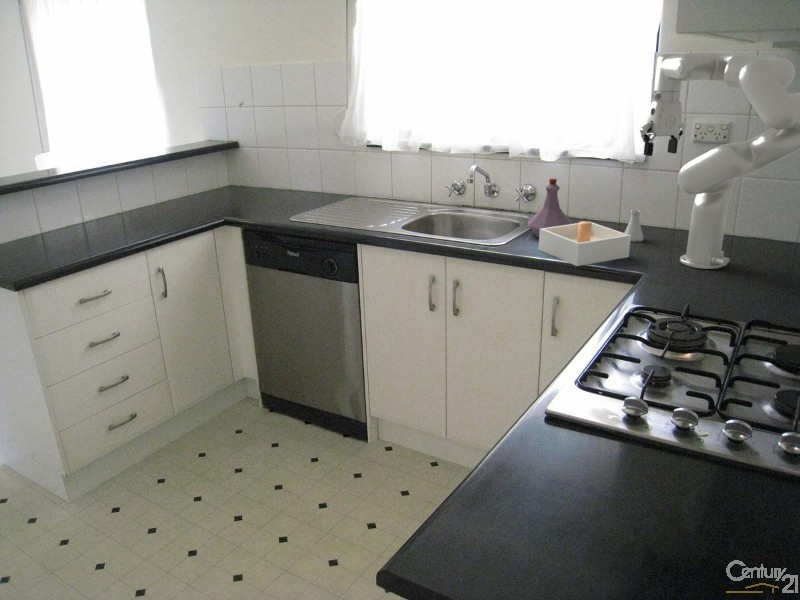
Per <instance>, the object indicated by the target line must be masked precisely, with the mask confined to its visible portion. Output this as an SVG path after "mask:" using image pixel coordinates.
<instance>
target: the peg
mask: <svg viewBox="0 0 800 600" xmlns="http://www.w3.org/2000/svg"><path fill="white" fill-rule="evenodd" d="M591 222H592V221H583V220H581V221H579V222H578V223H579V224H578V238H577V242H579V243H581V242H587V241H590V238H591V225H592V223H593V222H592V223H591Z"/></svg>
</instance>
